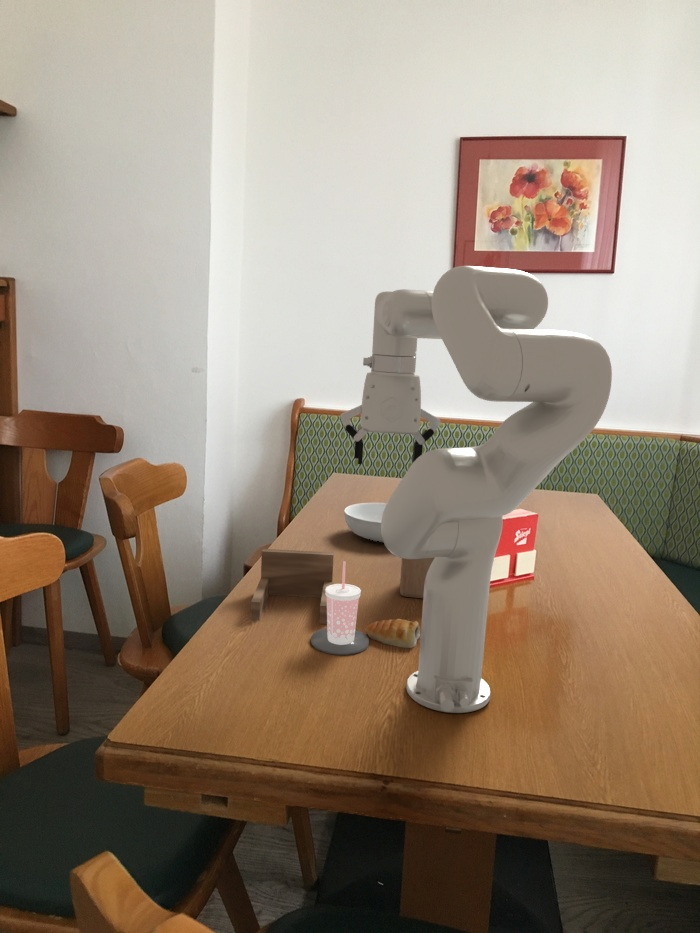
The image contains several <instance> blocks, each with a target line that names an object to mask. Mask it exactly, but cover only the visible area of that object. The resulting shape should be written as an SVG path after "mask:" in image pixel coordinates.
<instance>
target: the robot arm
mask: <svg viewBox="0 0 700 933" xmlns="http://www.w3.org/2000/svg"><path fill="white" fill-rule="evenodd" d="M548 308H549V297H548V293H547V291H546V288H545V287H544V285H543V283H542V282H541V281H540V280H539V279H538V278H537V277H535V276H534V275H532V274H531V273H528V272H525V271H523V270H519V269H511V268H501V267H488V266H487V267H486V266H473V265H459V266H455V267H452V268H451V269H448V270H447V271H446V272H444V273H443V274H442V275H441V277H440V278H439V279H438V281H437V282H436V284H435V286H434V288H433V290H420V289H418V290H417V289H395V290H393V291H381V292H379V293H378V294H377V295H376V297H375V301H374V313H373V315H374V316H373V330H372V333H373V334H372V349H371V355H370V356H369V357H368V356H367V357H362V358H363V362H362V363H363V364H362V366H363V367H364V366H366V367H368V368H369V369H371V370H370V372H367V373H366V376H365V379H364V384H363V385H364V386H363V391H362V398H361V404H360V405H358V406H355V407H354V408H351V409H349V410H347V411H344V412H342V413H341V414H340V415H339V418H340V420H341V424H342V425H343V428H344V429H345V431H346V433H348V435H349V436H350V437H351V438H353V440H354V454H353V455H354V456H353V457H354V459H355V460H357V465H362V464H363V457H364V456H363V454H364V440H363V438H364V437H365V436H366V434H368V432H369V433H377V434H396V435H397V434H399V435H410V434H411V435H412V436H413V438H414V442H413V445H412V458H411V459H412V460H411V461H412V464H411V465H410V467H409V468H408V469H407V471H406V473H405V474H404V476H403V477H402V478H401V480H400V481H399V483H398V484H397V486H396V487H395V488H394V490H393V492H392V494H391V495H390V496H389V498H388V500H387V502H386V503H387V504H386V506H385V509H384V511H383V515H382V520H381V534H382V539H383V542H382V543H384V546H385V547H386V549H387V550H388V551H389V552H390V553H391V554H392V555H393V556H395V557H397V558H399V559H401V560H402V559H424V558H435V559H434V560H433V562H432V564H431V565H430V567H429V570H428V572H427V575H426V578H425V584H424V595H423V598H422V610H421V612H422V613H421V626H420V637H419V638H420V640H419V650H418V651H419V653H418V654H419V655H418V669H417V671H414V672H413V673H411V674H410V675H409V677H408V678H407V681H406V691H407V694H408V695H409V697H410V698H411V699H412V700H414V702H416V703H417V704H419V705H421V706H423V707H426V708H428V709H431V710H434V711H437V712H443V713H451V714H463V713H465V714H466V713H470V712H474V711H478V710H481V709H482V708H484V707H485V706H486V705H487V704H489V703H490V702H489V701H490V699H491V688H490V686H489V684H488V683H487V682H486V681H485V680H484V679H483V678H482V672H483V665H484V664H483V661H484V653H485V639H486V628H487V620H488V619H487V618H488V607H489V606H488V605H489V598H490V587H491V578H492V570H493V566H494V560H495V558H496V557H495V556H496V552H497V549H498V546H499V544H500V540H501V535H502V532H503V531H502V530H503V524H504V522H503V519H504V518H503V516H507V515H508V514H510V513H512V512H514V511H515V510H516V509H517V508H518V507H519V506H520V505H521V504H522V503H523V502H524V501H525V499H526V498H527V497H528V496H530V494H531V493H532V492H533V491H534V490H535V489H536V488H537V487H538V486H539V485H540V484H541V483H542V482H543V480H545V479H546V477H547V476H548V475H549V474H550V473H551V472H552V470H553V469H554V468H555V467H557V465H558V464H559V463H560V462H561V461H563V460H564V458H565V457H567V456H568V455H570V453H571V452H572V451H574V450H575V449H576V448H577V447H578V446H579V445H580V444H581V443H582V442H583V441H584V440H585V439H586V438H587V437H588V436H589V435H590V434H591V433H592V431H593V430H594V429H595V427H596V426H597V425H598V424H599V421H601V420H600V419H601V418H602V416H603V414H604V412H605V410H606V408H607V405H608V401H609V398H610V394H611V390H612V389H611V388H612V379H613V373H612V371H613V368H612V364H611V363H612V362H611V359H610V357H609V354H608V352H607V351H606V348H605V347H604V346H603V345H602V344H601V343H600V342H598V341H597V340H595V339H594V338H592V337H589V335H586V334H582V333H579V332H573V331H568V330H557V329H542V328H541V329H539V328H538V329H536V328H537V327H538V326H540V325H539V324H541V323H542V321H543V320H544V318H545V317H546V314H547V312H548ZM418 339H431V340H433V339H434V340H442V342H443V345H444V346H445V348H446V350H447V352H448V354H449V356H450V358H451V360H452V362H453V364H454V367H455V368H456V370H457V373H458V374H459V376H460V378H461V380H462V382H463V384H464V385H465V387H466V389H467V390H469V392H471V394H473V395H474V396H475V397H476V398H478V399H480V400H484V401H488V402H494V403H495V402H496V403H498V402H499V403H502V402H507V403H509V402H514V403H515V402H519V403H521V402H522V403H523V402H527V403H528V405H526V406H524V407H523V408H521V409H519V410H517V411H516V412H514V413H513V414H511V415H509V417H506V418H505V419H504V421H503V422H502V423H500V424H499V425H498V427H497V428H496V429H495V431H494V433H493V434H492V435H491V436H490V437H489V438H488V440H486V441H485V442H484V443H483V444H479V445H475V446H469V447H465V446H464V447H445V448H443V447H442V448H441V447H440V448H435V449H431V450H428V451H426V452H424V453H423V447H424V446H423V445H424V444H425V443H426V442H427V441H428V440H430V438H431V437H433V436H434V435H435V432H436V431H437V429H438V428H439V426H440V424H441V420H440V418H438V417H437V416H435V415H434V414H431V413H430V412H428V411H426V410H425V409H423V408H422V407H421V406H422V389H421V378H420V375H418V374H416V365H417V351H418V350H417V349H418V347H417V346H418ZM358 415H360V427H359V428H358V429H356V428H355V427H354V426H353V425H352V422H351V419H352V418H353V417H356V416H358ZM421 418H422V419H424V420H425V421H427V422H429V425H428V427H427V428H426V429H425V430H424V431H423V432H420V431H419V430H420V427H421V426H420V425H421Z"/></svg>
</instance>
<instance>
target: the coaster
mask: <svg viewBox="0 0 700 933" xmlns="http://www.w3.org/2000/svg"><path fill="white" fill-rule="evenodd" d="M369 640H370V639H369V636H368V635H366V633H365V632H362V631H360V630H357V629H355V636H354V641H353V642H352V643H350V644H346V645H339V644H334V643H331V642H329V641H328V636H327V627H325V628H322V629H319V630H317V631H315V632H314V633H312V634H311V637H310V644H311V645H312V647H313V648H315V649H316V650H317V651H320V652H322V653H325V654H330V655H337V656H348V655H349V656H350V655H356V654H359V653H361V652H364V651H366V650H367V649H368V647H369V644H370V641H369Z"/></svg>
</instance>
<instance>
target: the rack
mask: <svg viewBox="0 0 700 933" xmlns="http://www.w3.org/2000/svg"><path fill="white" fill-rule="evenodd" d="M260 564H261V566H260V568H261V570H260V579H259V582H258V584H257V586H256V589H255V590H254V594H253V597H252V598H251V600H250V620H251V621H261V620H260V619H261V617H262V615H263V612H264V608H265V605H266V603H267V600H268V597H269V596H283V597H284V596H286V597H306V598H320V605H319V624H320V625H327V596H326V594H325V593H326V592H325V589H326V587H327V586H329V585H333V577H334V576H333V575H334V571H333V570H334V552H330V551H329V552H328V551H313V550H312V551H309V550H292V549H291V550H289V549H275V548H262V550H261V563H260Z"/></svg>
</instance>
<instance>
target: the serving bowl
mask: <svg viewBox="0 0 700 933" xmlns="http://www.w3.org/2000/svg"><path fill="white" fill-rule="evenodd" d="M386 504H387V502H386V503H385V502H361V503H355V504H351V505H348V506H346V507H345V508H344V510H343V514H344V516H343V517H344V521H345V523H346V526H347V527H348V528H349V530H350V531H351V532H353V534H355V535H357V536H359V537H361V538H364V539H366V540H369V539H370V541H372V540H373V542H377V541H379V542H378V543H384V542H383V539H382V534H381V520H382V515H383V511H384V509H385V506H386Z"/></svg>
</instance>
